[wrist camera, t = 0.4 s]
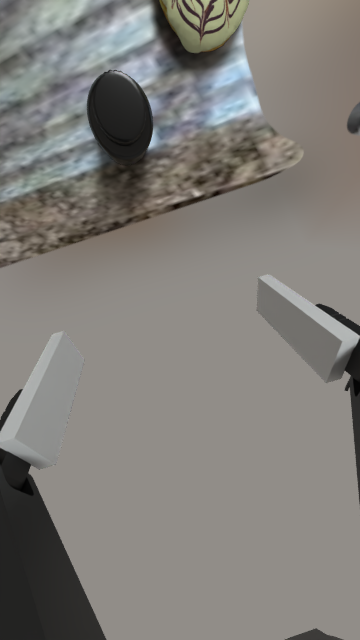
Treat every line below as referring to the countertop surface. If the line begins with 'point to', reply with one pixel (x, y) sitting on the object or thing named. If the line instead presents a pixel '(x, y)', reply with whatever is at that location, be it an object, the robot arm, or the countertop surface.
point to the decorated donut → (204, 21)
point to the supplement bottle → (120, 117)
